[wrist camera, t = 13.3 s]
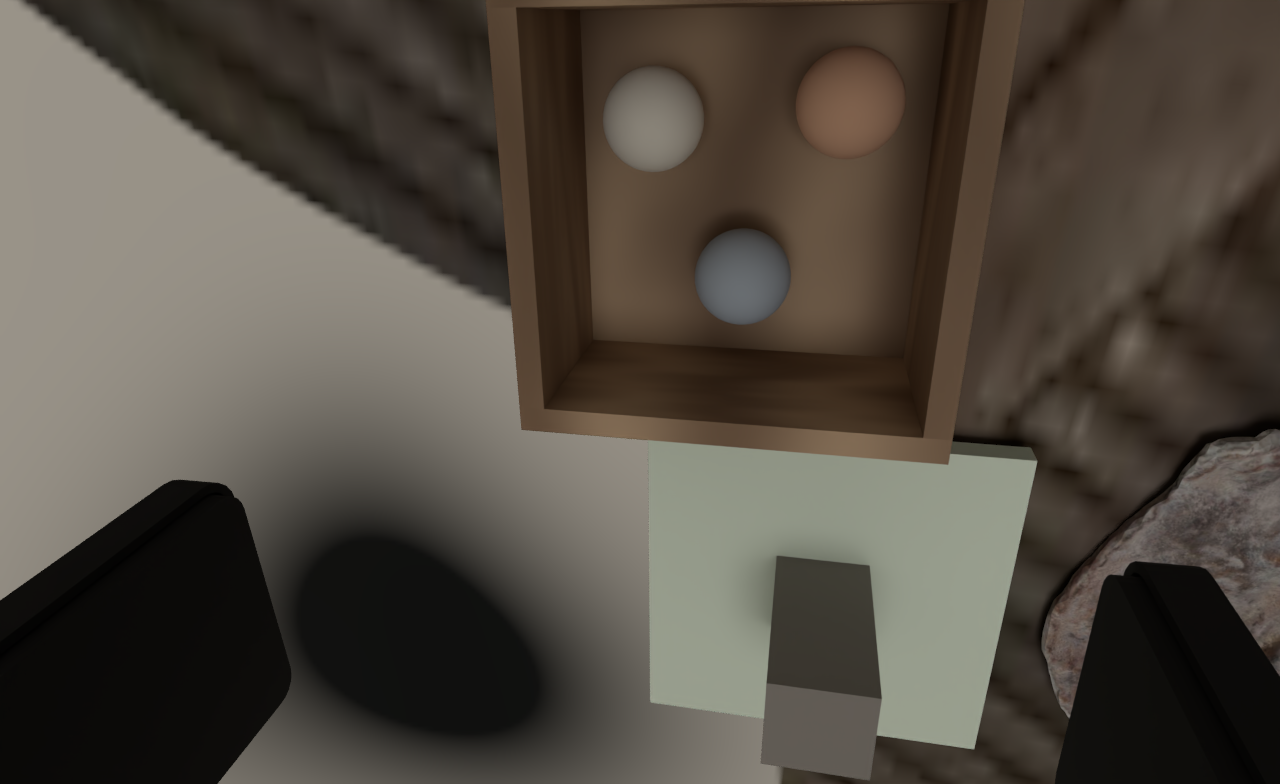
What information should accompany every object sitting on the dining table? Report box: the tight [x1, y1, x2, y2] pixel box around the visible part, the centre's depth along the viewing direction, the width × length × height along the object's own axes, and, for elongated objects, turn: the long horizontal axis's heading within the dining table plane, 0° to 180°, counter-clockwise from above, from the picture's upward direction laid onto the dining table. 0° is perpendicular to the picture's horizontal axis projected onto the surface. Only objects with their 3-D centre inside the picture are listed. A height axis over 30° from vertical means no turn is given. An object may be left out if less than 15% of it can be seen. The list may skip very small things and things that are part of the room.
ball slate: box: [695, 228, 791, 325], centre depth 27 cm, size 3×3×3 cm
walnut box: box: [486, 0, 1025, 465], centre depth 25 cm, size 13×13×7 cm
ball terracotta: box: [796, 46, 906, 159], centre depth 24 cm, size 3×3×3 cm
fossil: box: [1042, 429, 1280, 718], centre depth 30 cm, size 17×4×15 cm
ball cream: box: [603, 65, 704, 172], centre depth 26 cm, size 3×3×3 cm
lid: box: [648, 440, 1037, 780], centre depth 30 cm, size 14×14×8 cm
